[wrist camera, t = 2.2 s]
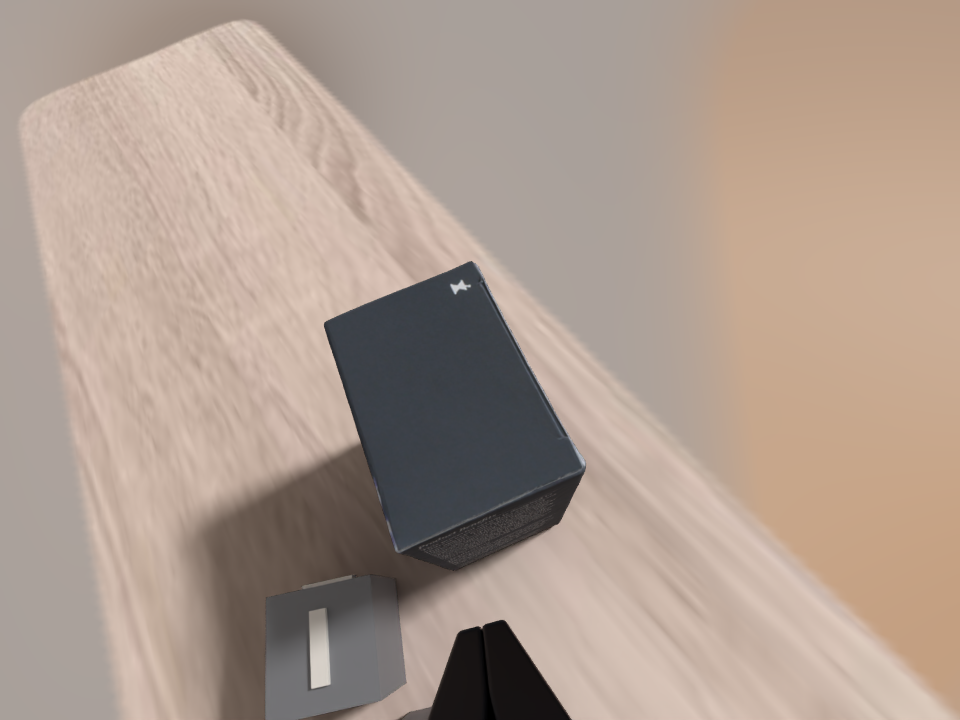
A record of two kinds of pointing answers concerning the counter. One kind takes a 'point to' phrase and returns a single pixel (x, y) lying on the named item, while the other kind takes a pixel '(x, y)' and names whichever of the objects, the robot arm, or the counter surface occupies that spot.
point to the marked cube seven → (332, 647)
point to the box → (452, 420)
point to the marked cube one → (418, 714)
